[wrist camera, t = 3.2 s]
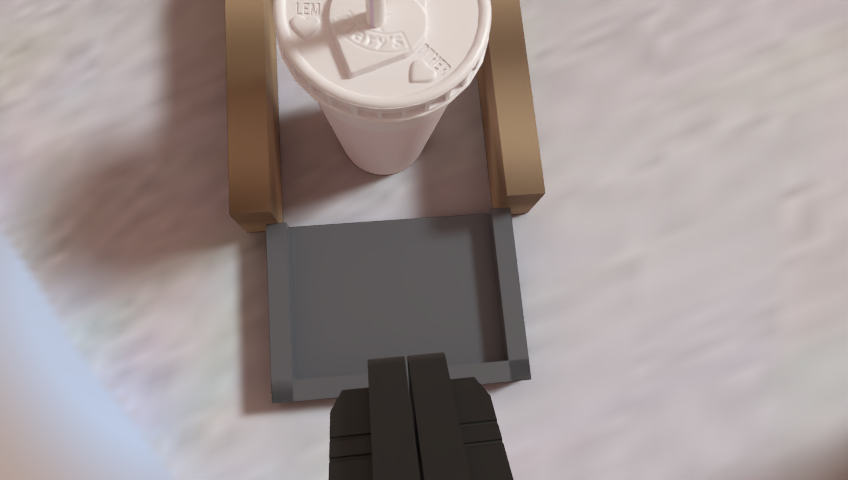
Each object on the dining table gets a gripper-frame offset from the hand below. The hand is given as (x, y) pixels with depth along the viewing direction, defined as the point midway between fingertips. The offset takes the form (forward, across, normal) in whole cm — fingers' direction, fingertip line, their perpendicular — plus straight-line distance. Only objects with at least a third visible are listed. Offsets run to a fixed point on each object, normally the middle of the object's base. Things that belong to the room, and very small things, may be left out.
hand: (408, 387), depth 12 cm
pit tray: (+11, 0, -7) cm, 13 cm away
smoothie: (+17, 0, -2) cm, 17 cm away
